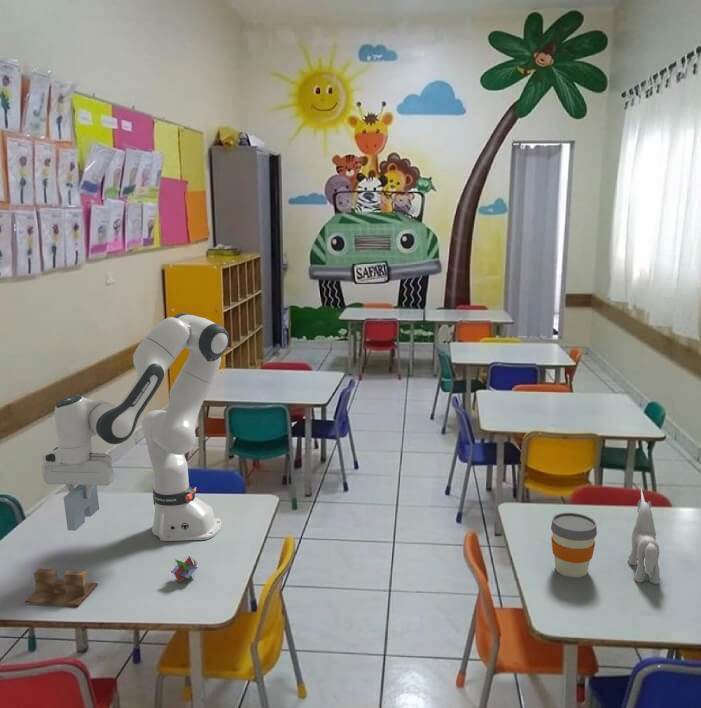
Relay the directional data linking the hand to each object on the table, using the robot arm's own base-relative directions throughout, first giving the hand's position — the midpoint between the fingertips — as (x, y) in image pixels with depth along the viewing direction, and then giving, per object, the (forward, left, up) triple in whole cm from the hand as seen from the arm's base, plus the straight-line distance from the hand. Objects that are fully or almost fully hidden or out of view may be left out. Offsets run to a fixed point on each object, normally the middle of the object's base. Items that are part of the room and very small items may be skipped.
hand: (81, 497), depth 203 cm
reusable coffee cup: (-141, -15, -23) cm, 143 cm away
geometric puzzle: (-31, +3, -23) cm, 38 cm away
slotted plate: (0, 0, -7) cm, 7 cm away
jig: (0, +14, -22) cm, 26 cm away
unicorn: (-161, -18, -23) cm, 164 cm away
